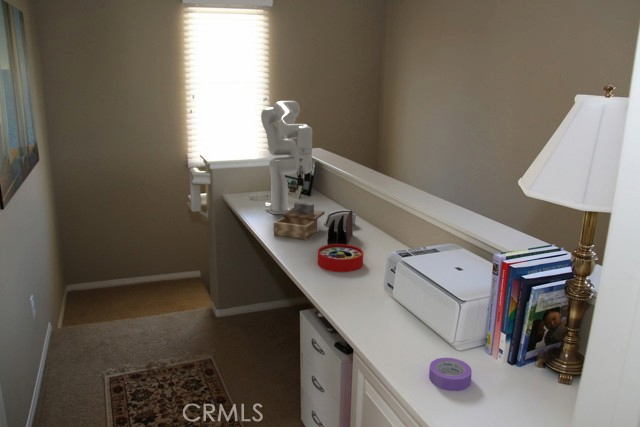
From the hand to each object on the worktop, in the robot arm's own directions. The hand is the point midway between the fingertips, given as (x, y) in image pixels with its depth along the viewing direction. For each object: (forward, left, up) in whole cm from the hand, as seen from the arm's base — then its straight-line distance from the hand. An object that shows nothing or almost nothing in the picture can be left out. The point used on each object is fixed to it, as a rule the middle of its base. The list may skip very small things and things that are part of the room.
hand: (303, 183), depth 289 cm
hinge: (+16, +12, -25) cm, 32 cm away
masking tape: (+92, -116, -25) cm, 151 cm away
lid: (0, 0, -17) cm, 17 cm away
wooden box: (0, -11, -24) cm, 27 cm away
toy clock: (+34, -42, -25) cm, 59 cm away
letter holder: (+24, -10, -25) cm, 36 cm away
